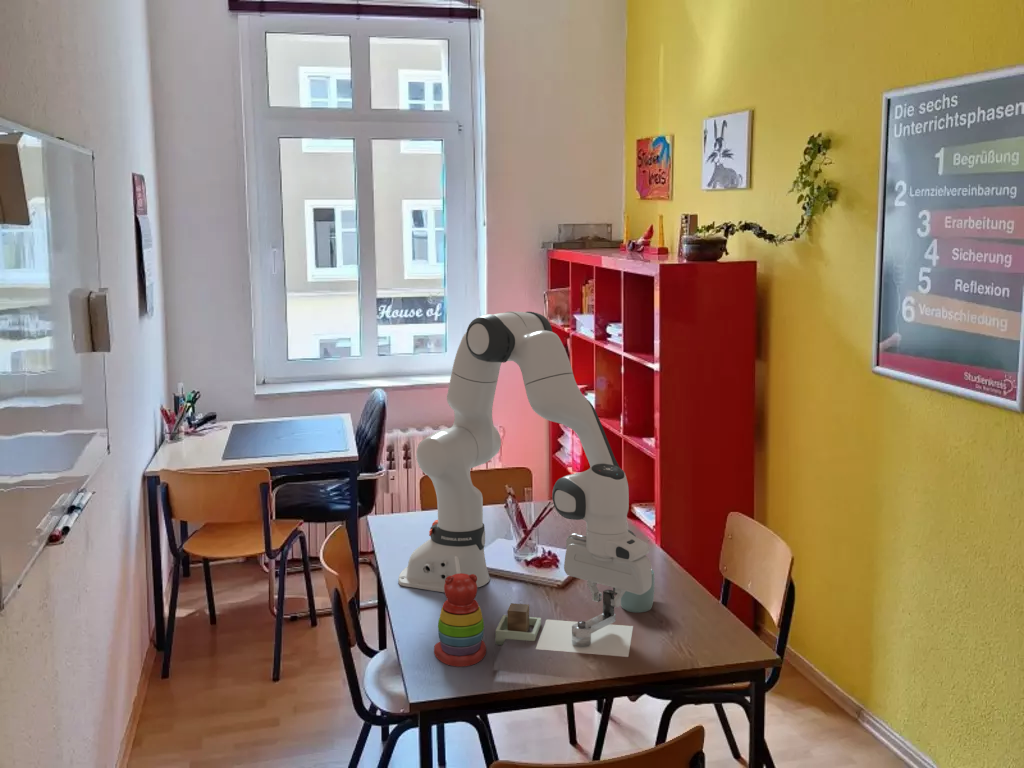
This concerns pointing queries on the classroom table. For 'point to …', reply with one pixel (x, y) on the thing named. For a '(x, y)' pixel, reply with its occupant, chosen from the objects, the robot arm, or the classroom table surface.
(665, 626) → the classroom table surface
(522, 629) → the block
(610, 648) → the crank plate
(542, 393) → the robot arm
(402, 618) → the classroom table surface
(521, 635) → the tray
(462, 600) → the stacking bear
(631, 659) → the classroom table surface
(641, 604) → the cup
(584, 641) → the crank
